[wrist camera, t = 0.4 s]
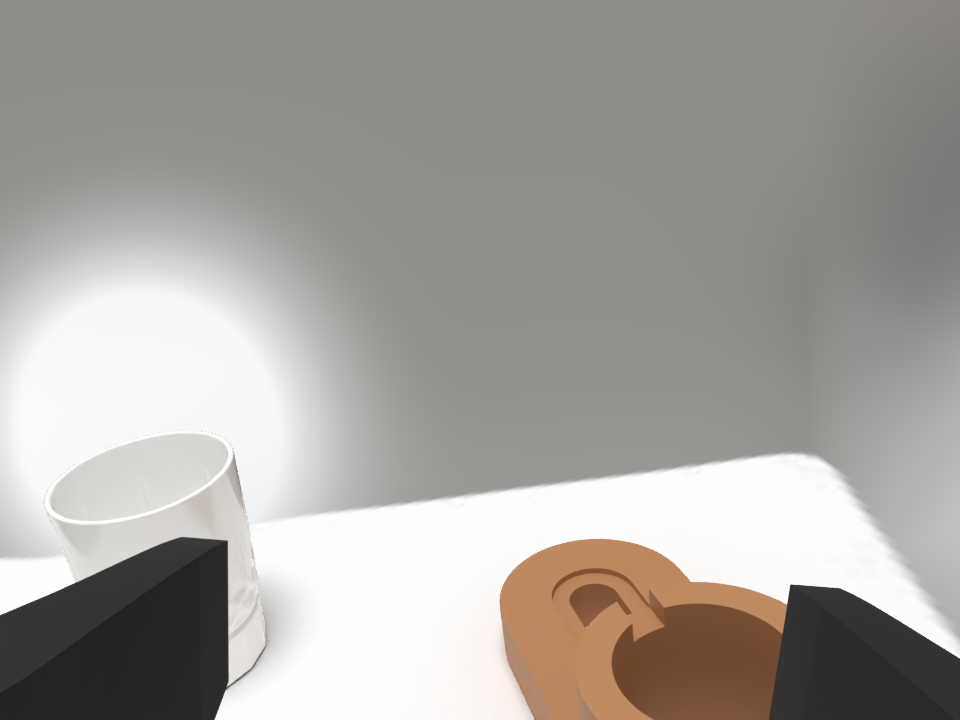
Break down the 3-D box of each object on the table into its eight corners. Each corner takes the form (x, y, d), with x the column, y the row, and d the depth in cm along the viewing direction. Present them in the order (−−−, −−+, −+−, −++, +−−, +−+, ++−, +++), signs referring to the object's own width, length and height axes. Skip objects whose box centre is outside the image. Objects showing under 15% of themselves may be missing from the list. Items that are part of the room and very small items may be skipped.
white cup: (82, 726, 38) (8, 533, 35) (143, 610, 46) (88, 440, 42) (260, 707, 38) (205, 511, 34) (293, 594, 45) (251, 421, 42)
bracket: (891, 880, 28) (906, 714, 25) (654, 974, 26) (643, 806, 24) (641, 569, 44) (634, 448, 42) (484, 614, 42) (466, 490, 40)
